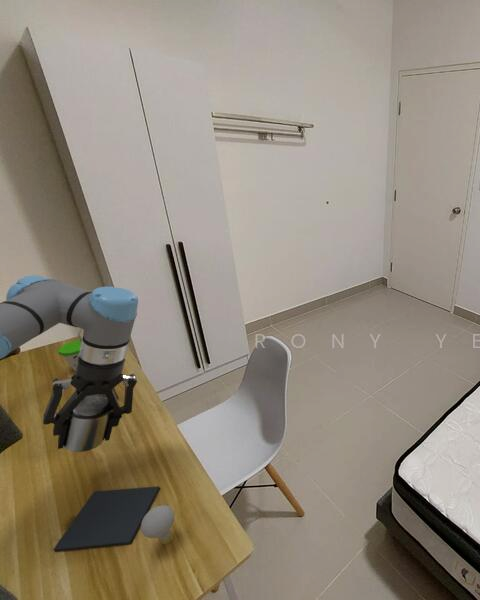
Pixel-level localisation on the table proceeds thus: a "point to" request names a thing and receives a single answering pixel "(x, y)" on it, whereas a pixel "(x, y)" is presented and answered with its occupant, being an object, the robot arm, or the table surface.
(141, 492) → the mat
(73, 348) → the cup
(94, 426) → the pot
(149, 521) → the light bulb
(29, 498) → the table surface
